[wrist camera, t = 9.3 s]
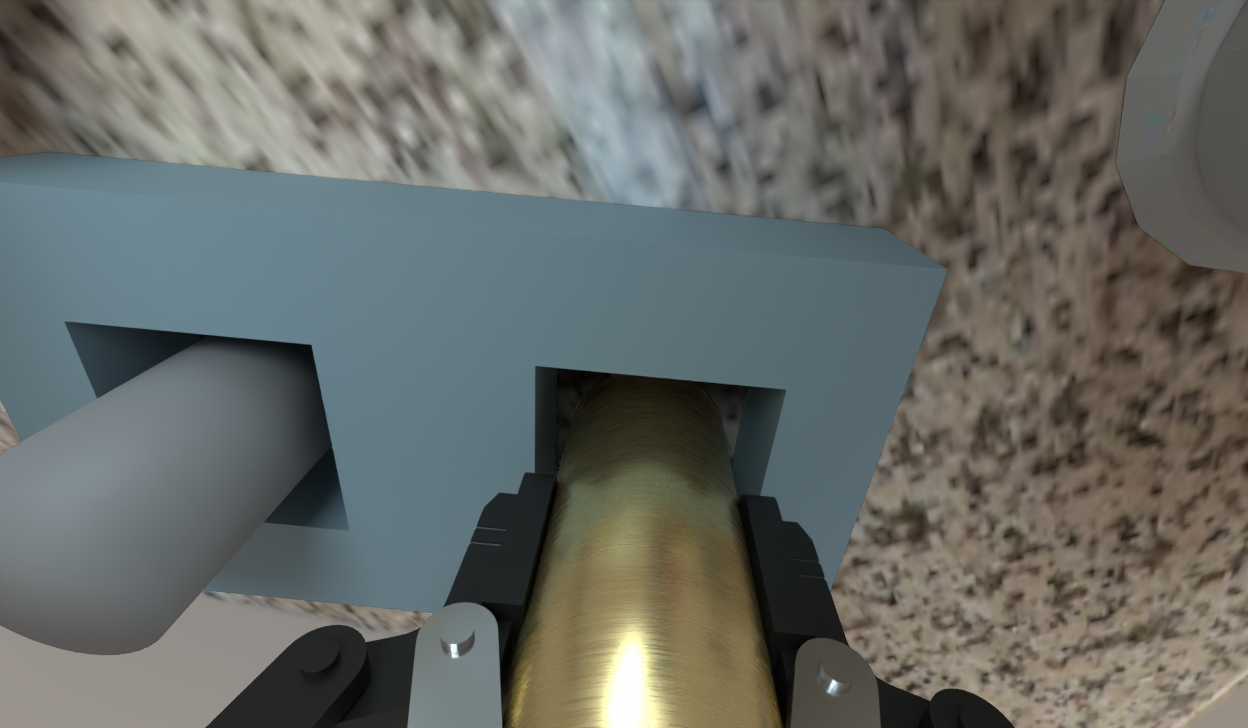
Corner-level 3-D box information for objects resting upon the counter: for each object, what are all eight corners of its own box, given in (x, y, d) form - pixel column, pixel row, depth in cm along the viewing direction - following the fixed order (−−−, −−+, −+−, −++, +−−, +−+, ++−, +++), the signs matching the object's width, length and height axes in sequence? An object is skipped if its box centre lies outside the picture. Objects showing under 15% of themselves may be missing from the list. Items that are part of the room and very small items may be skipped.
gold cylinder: (573, 360, 15) (450, 783, 6) (736, 376, 15) (860, 824, 6) (567, 488, 17) (469, 945, 8) (710, 502, 17) (773, 976, 8)
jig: (47, 151, 14) (-546, 220, 7) (884, 228, 14) (1112, 376, 7) (181, 501, 20) (-80, 734, 13) (784, 560, 20) (857, 830, 13)
